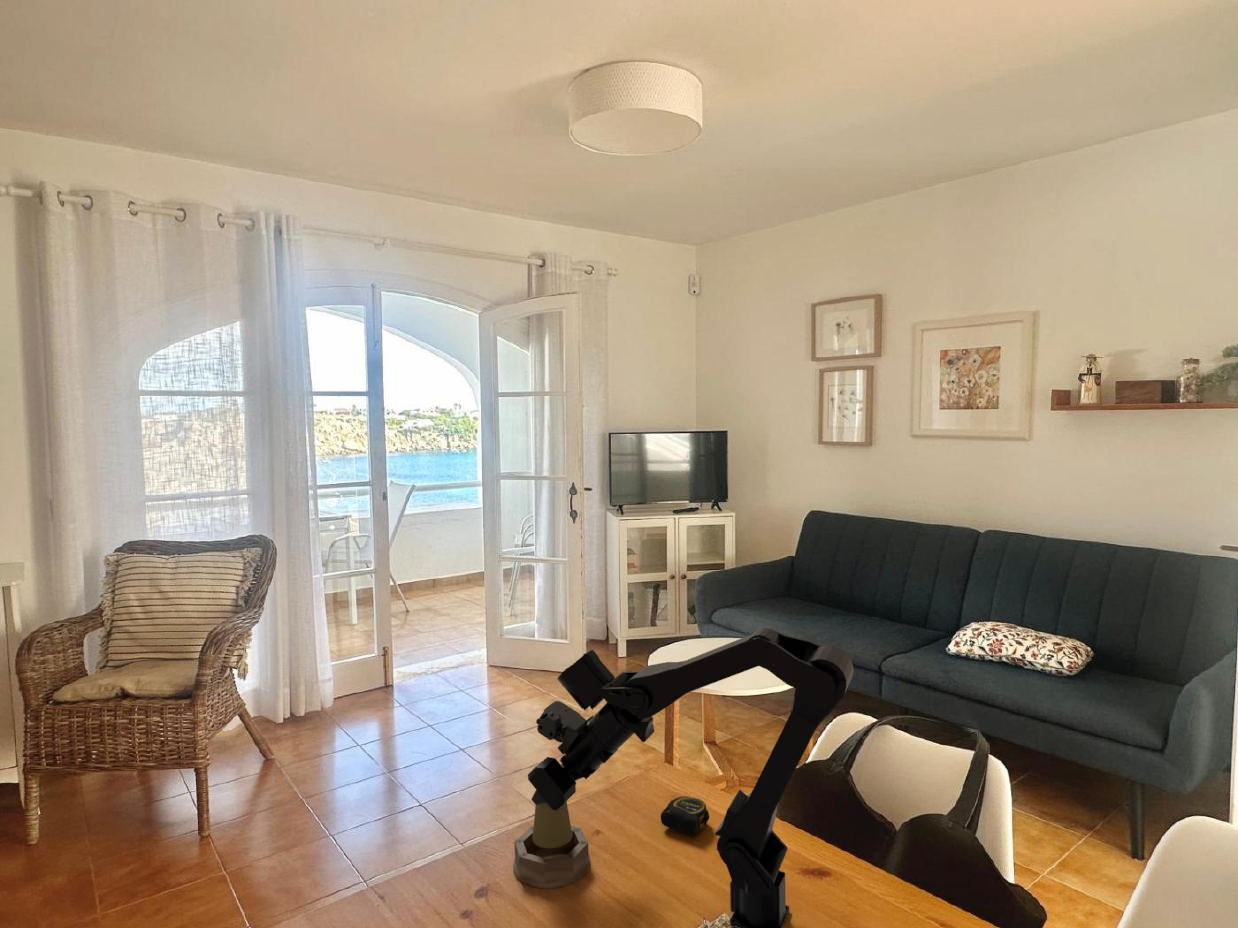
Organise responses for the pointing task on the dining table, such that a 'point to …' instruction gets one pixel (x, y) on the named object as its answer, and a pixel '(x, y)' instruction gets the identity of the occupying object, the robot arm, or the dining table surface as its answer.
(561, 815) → the olive round-headed post
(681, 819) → the tape measure
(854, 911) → the dining table surface
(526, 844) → the octagonal stone mortar
